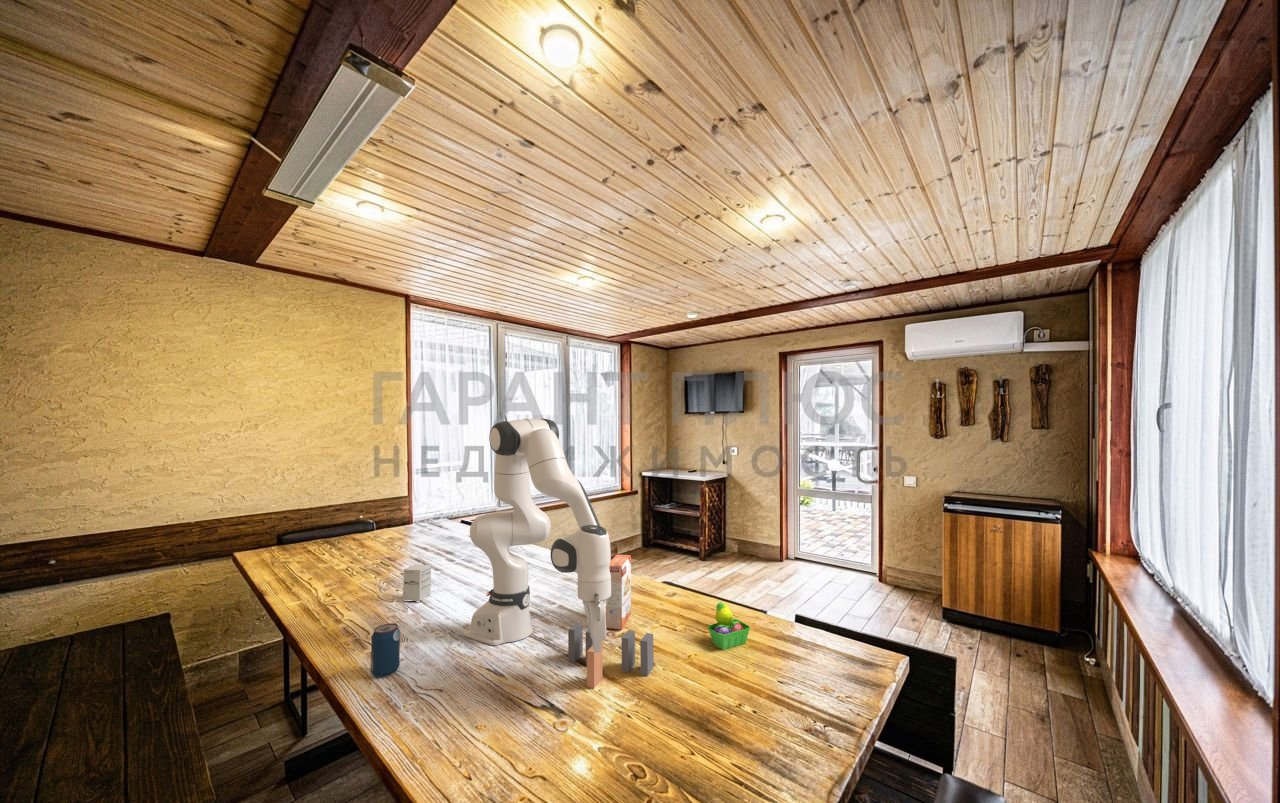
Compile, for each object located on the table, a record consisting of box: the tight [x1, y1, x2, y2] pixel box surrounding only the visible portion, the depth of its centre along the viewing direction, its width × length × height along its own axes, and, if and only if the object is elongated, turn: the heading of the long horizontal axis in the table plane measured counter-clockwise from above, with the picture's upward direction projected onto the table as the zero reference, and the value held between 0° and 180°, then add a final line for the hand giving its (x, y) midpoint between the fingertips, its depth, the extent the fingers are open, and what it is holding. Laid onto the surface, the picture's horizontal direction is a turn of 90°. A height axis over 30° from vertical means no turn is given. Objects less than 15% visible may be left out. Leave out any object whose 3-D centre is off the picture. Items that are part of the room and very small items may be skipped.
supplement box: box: [402, 563, 432, 601], centre depth 184 cm, size 7×7×13 cm
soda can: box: [370, 622, 401, 679], centre depth 128 cm, size 7×7×12 cm
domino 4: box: [621, 629, 636, 674], centre depth 129 cm, size 2×5×9 cm, turn 160°
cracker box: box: [605, 554, 632, 630], centre depth 161 cm, size 14×6×21 cm, turn 168°
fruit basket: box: [707, 602, 751, 651], centre depth 143 cm, size 11×9×11 cm
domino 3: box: [586, 643, 603, 689], centre depth 121 cm, size 2×5×9 cm, turn 160°
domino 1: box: [567, 622, 584, 664], centre depth 135 cm, size 2×5×9 cm, turn 160°
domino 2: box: [585, 628, 593, 666], centre depth 133 cm, size 2×5×9 cm, turn 160°
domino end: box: [639, 632, 655, 677], centre depth 127 cm, size 2×5×9 cm, turn 160°
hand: (595, 643), depth 121 cm, fingers open, 8 cm apart
